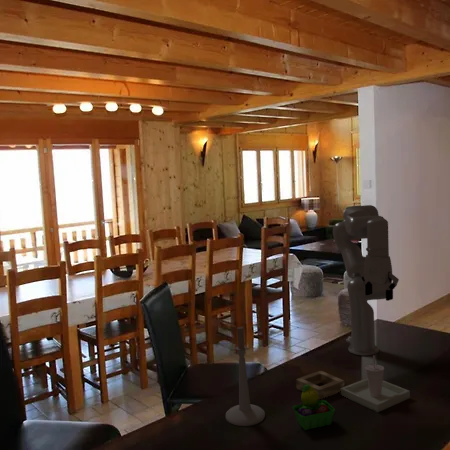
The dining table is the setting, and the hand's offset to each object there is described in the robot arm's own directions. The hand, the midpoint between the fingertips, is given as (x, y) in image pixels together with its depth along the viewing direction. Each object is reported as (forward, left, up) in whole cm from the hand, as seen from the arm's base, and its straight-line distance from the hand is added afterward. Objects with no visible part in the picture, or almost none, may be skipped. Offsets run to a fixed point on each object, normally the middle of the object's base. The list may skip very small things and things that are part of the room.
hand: (378, 297), depth 185 cm
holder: (-4, -27, -29) cm, 40 cm away
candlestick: (-5, -59, -30) cm, 66 cm away
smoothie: (+12, -17, -29) cm, 36 cm away
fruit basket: (+12, -45, -30) cm, 55 cm away
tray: (+12, -17, -29) cm, 36 cm away
